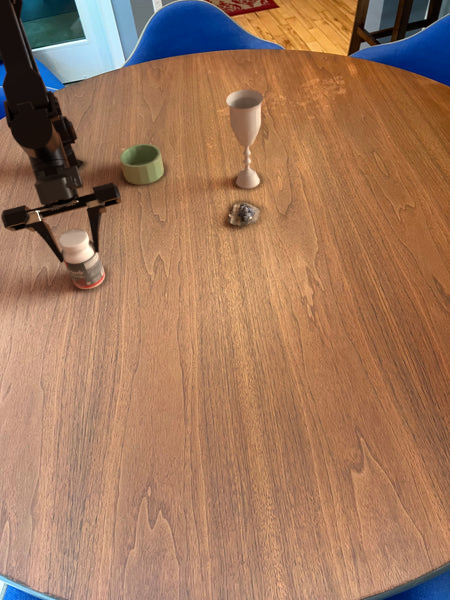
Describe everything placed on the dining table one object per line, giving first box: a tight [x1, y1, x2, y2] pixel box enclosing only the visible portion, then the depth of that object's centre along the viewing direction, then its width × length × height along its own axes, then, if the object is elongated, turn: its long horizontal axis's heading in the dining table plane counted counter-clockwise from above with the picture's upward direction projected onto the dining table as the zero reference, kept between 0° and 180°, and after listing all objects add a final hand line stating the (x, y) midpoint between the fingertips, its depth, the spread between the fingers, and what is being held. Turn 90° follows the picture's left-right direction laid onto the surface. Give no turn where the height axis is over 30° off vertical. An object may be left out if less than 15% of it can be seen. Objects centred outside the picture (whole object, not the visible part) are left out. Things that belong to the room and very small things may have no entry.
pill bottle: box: [58, 227, 106, 290], centre depth 82 cm, size 6×6×10 cm
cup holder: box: [119, 143, 165, 186], centre depth 104 cm, size 9×9×4 cm
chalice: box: [225, 89, 264, 190], centre depth 94 cm, size 7×7×18 cm
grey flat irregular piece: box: [227, 202, 261, 227], centre depth 93 cm, size 7×8×2 cm
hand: (79, 257), depth 80 cm, fingers closed on pill bottle, 6 cm apart
